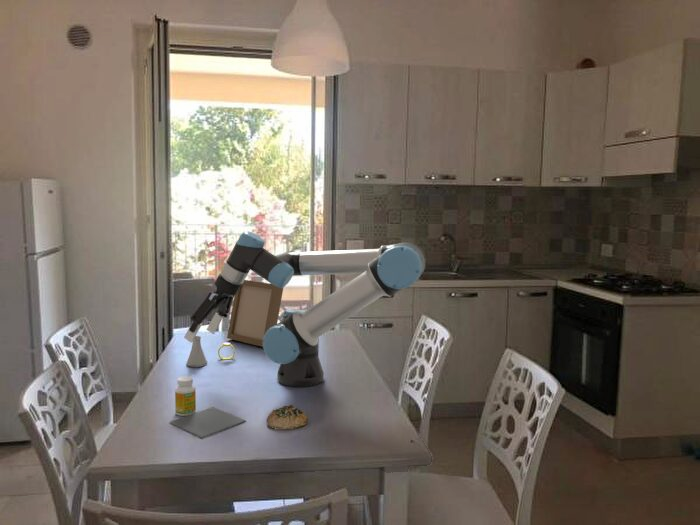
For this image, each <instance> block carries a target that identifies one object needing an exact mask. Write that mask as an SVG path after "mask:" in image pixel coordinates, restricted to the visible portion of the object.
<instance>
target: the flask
mask: <svg viewBox="0 0 700 525" xmlns="http://www.w3.org/2000/svg"><path fill="white" fill-rule="evenodd" d="M201 338H202V336H201V335H196V336H195V338H194V340H193V341H192V344H191V350H190V352H189V355H188V358H187V361H186V364H185V366H187V367H192V368H197V367H203V366H206V365H207V364H208V360H207V358H206V355H205V352H204V350H203V348H202V344H201Z"/></svg>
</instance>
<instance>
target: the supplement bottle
mask: <svg viewBox="0 0 700 525" xmlns="http://www.w3.org/2000/svg"><path fill="white" fill-rule="evenodd" d="M174 392H175V393H174V395H175V396H174V399H175V400H174V401H175V402H174V403H175V404H174V405H175V406H174V408H175V414H176V415H177V416H178V417H179V416H180V417H185V416H188V415H191V414H194V413H196V411H197V408H196V407H197V402H196V398H197V397H196V386H195V385H194V379H193V377H192V376H180V377H178V378H177V386H175V389H174Z"/></svg>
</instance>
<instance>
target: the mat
mask: <svg viewBox="0 0 700 525" xmlns="http://www.w3.org/2000/svg"><path fill="white" fill-rule="evenodd" d="M245 422H247V420H246V419H244V418H242V417H239V416H236V415H235V414H232V413H229V412H227V411H224V410H222V409H219V408H217V407H215V406H212V407H209V408H205V409H202V410H200V411H198V412H195V413H194V414H191V415H188V416H181V417H180V418H176V419H174V420H171V421H169V424H170V423H171V425H173V426H175V427H177V428H178V429H181V430H183V429H184V431H185V430H186V432H187V431H188V432H187V433H189V432H190V433H189V434H191V433H192V435H193V436H196V437H198V438H200V439H205V438H207V437H210V436H213V435H215V434H217V432H218V433H220V432H223V431H225V430H229V429H230V427H231V428H233V427H235V426H238V425H241V424H243V423H245ZM222 430H223V431H222ZM214 433H215V434H214ZM212 434H213V435H212ZM209 435H210V436H209ZM204 437H205V438H204Z"/></svg>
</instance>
